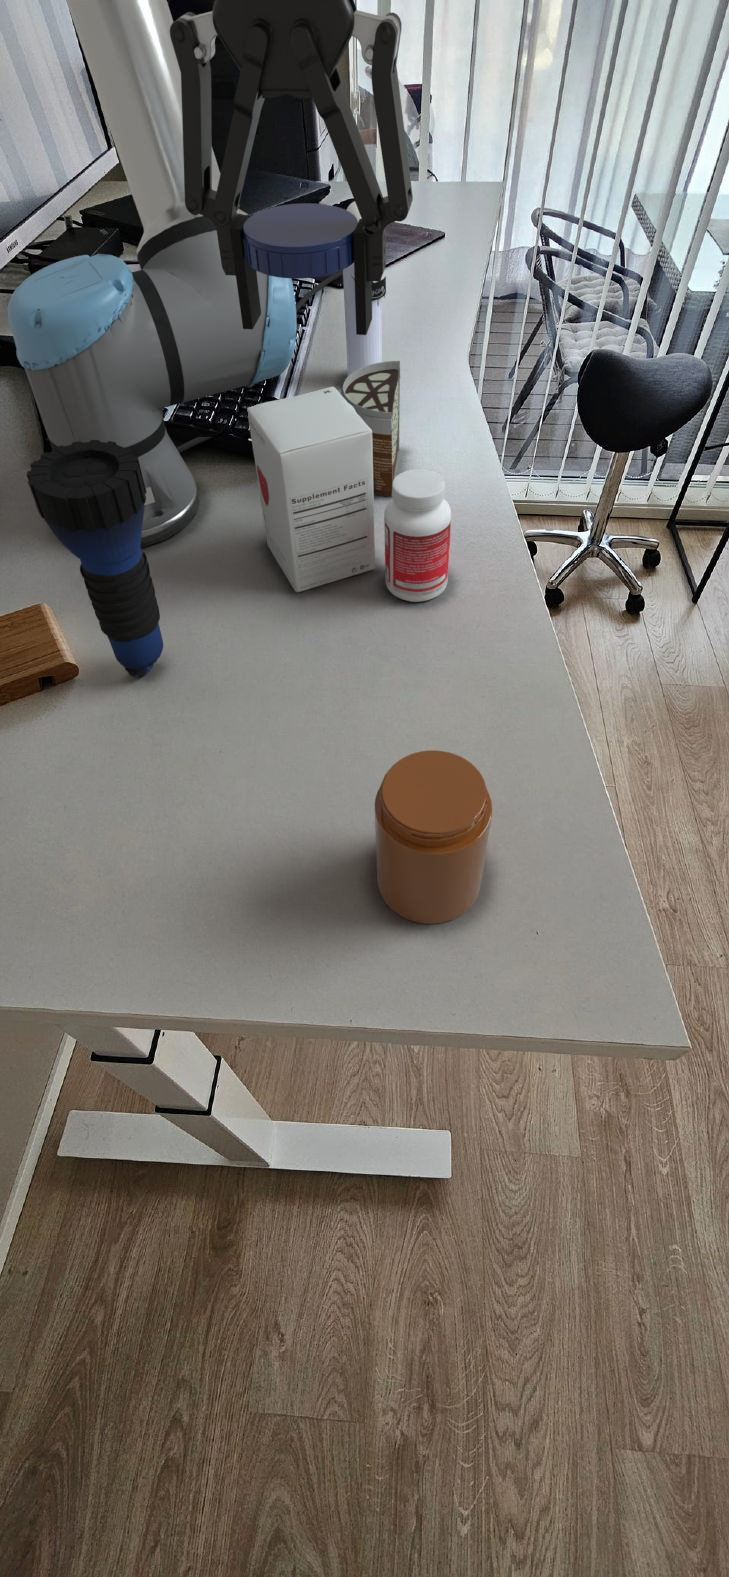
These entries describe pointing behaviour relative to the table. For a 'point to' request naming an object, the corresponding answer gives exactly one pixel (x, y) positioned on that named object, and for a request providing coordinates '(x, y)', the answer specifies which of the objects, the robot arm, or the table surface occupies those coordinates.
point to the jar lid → (300, 240)
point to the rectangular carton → (315, 486)
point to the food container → (378, 416)
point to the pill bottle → (417, 536)
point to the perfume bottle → (358, 346)
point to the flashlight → (104, 540)
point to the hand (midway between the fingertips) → (307, 323)
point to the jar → (431, 836)
